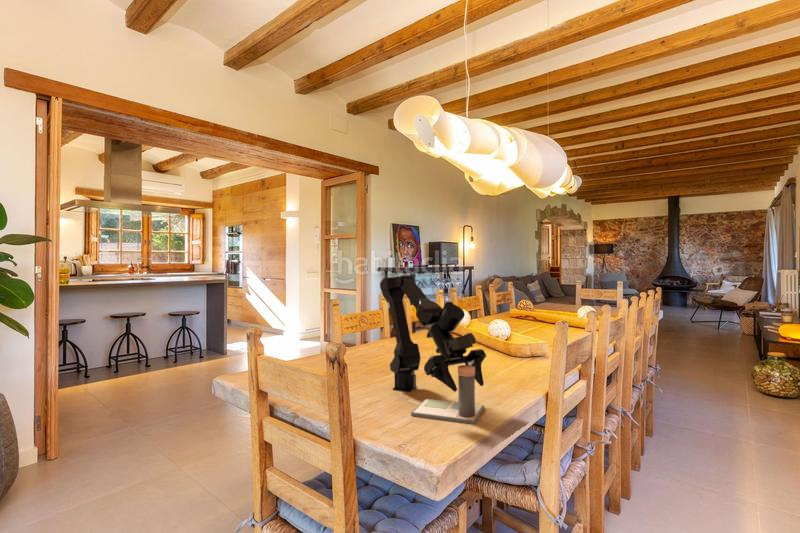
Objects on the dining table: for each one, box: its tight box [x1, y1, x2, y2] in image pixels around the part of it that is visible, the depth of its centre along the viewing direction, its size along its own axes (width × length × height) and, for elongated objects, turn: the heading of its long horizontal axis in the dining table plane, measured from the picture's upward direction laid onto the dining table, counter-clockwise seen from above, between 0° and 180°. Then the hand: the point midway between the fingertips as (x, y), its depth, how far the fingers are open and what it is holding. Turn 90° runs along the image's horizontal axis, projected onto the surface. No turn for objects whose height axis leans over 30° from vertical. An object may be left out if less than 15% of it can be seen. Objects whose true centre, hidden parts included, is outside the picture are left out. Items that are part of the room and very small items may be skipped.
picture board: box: [410, 398, 485, 425], centre depth 118 cm, size 18×13×1 cm
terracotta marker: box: [457, 364, 476, 417], centre depth 113 cm, size 5×5×13 cm
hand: (469, 388), depth 112 cm, fingers open, 9 cm apart
